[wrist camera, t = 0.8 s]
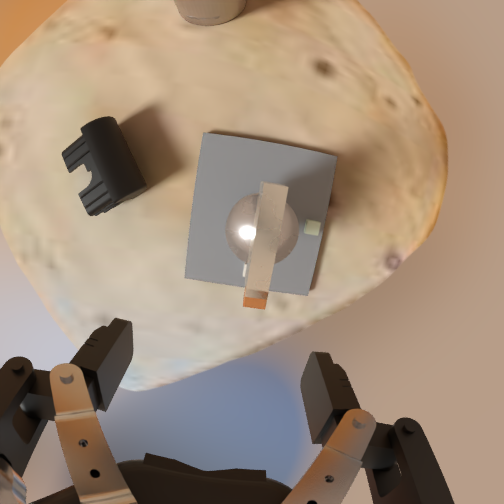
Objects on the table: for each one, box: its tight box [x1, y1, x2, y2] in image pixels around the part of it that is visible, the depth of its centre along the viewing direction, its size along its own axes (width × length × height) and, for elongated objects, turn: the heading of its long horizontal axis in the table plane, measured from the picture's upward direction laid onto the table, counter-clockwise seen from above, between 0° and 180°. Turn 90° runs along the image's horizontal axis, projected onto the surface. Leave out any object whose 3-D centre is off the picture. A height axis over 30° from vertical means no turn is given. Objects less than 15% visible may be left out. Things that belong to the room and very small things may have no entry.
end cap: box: [62, 116, 147, 216], centre depth 29 cm, size 10×7×7 cm
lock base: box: [185, 133, 337, 296], centre depth 31 cm, size 18×16×6 cm
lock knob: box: [225, 181, 299, 309], centre depth 25 cm, size 10×7×7 cm
